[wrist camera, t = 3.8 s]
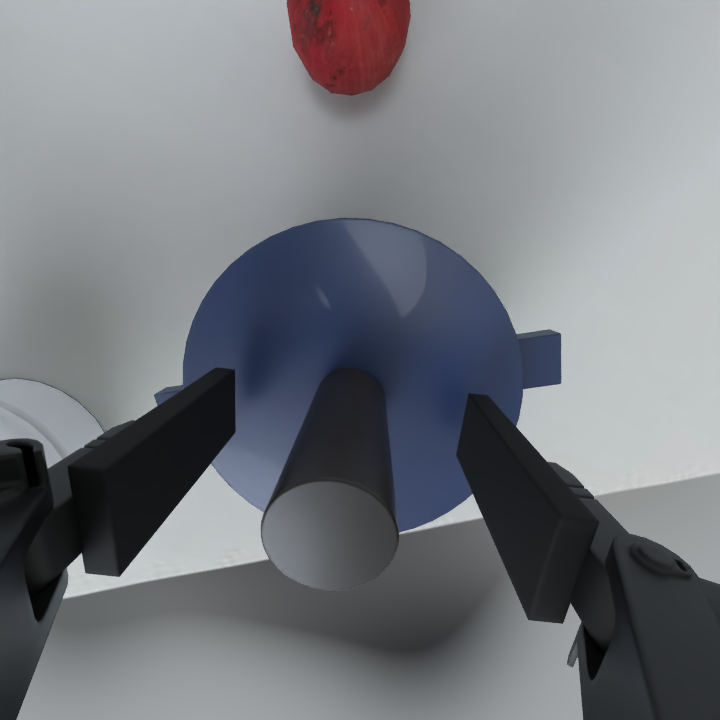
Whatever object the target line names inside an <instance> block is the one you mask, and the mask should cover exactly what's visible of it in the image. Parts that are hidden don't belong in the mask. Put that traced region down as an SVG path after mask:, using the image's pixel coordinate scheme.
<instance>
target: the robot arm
mask: <svg viewBox="0 0 720 720" xmlns="http://www.w3.org/2000/svg"><path fill="white" fill-rule="evenodd" d="M235 433H236V414H235V369H227V368H217V367H215V368H214V369H212V370H211V371H209V372H208V373H206V374H205V375H203V376H202V377H200V378H199V379H197V380H196V381H194V382H193V383H191V384H190V385H188V386H187V387H185V388H184V389H182V390H181V391H179V392H178V393H176V394H175V395H173V396H172V397H170V398H169V399H167V400H166V401H164V402H163V403H161V404H160V405H158V406H157V407H155V408H154V409H152V410H151V411H149V412H148V413H146V414H145V415H143V416H142V417H140V418H139V419H137V420H136V421H133V420H132V421H129V422H126V423H124V424H121V425H118V426H116V427H113V428H111V429H110V430H108V431H106V432H105V433H103V434H102V435H100V436H99V437H97V439H94V440H92V441H91V442H89V443H88V444H86V445H84V448H80V449H78V450H76V451H75V452H73V453H72V454H70V455H69V456H67V457H65V458H64V459H62V460H61V461H59V462H58V463H56V464H54V465H53V466H51V467H50V468H47V463H46V458H45V453H44V447H43V444H42V443H41V442H39V441H38V440H34V439H29V438H19V439H7V440H1V441H0V720H16V718H17V716H18V713H19V711H20V708H21V706H22V703H23V700H24V698H25V695H26V692H27V690H28V687H29V684H30V682H31V679H32V676H33V674H34V672H35V669H36V666H37V663H38V661H39V658H40V656H41V653H42V651H43V648H44V645H45V643H46V640H47V637H48V635H49V632H50V629H51V627H52V624H53V621H54V619H55V616H56V613H57V611H58V609H59V606H60V603H61V601H62V598H63V595H64V593H65V590H66V588H67V585H68V572H67V567H68V566H69V565H70V564H71V563H72V562H73V561H74V560H75V559H76V558H77V557H78V556H79V555H80V554H81V553H82V556H83V561H84V567H85V573H89V574H98V575H107V576H117V577H120V576H121V574H122V573H123V572H124V571H125V569H126V568H127V567H128V566H129V564H130V563H131V562H132V561H133V559H134V558H135V557H136V556H137V554H138V553H139V552H140V551H141V549H142V548H143V547H144V546H145V544H146V543H147V542H148V541H149V539H150V538H151V537H152V536H153V535H154V533H155V532H156V531H157V530H158V528H159V527H160V526H161V525H162V523H163V522H164V521H165V520H166V518H167V517H168V516H169V515H170V513H171V512H172V511H173V510H174V508H175V507H176V506H177V505H178V503H179V502H180V501H181V500H182V498H183V497H184V496H185V495H186V493H187V492H188V491H189V490H190V489H191V487H192V486H193V485H194V484H195V482H196V481H197V480H198V479H199V477H200V476H201V475H202V474H203V472H204V471H205V470H206V469H207V467H208V466H209V465H210V464H211V462H212V461H213V460H214V459H215V457H216V456H217V455H218V454H219V452H220V451H221V450H222V449H223V448H224V446H225V445H226V444H227V443H228V441H229V440H230V439H231V438H232V436H233V435H234V434H235ZM456 456H457V459H458V461H459V463H460V466H461V468H462V470H463V472H464V475H465V477H466V479H467V481H468V484H469V486H470V488H471V491H472V493H473V495H474V497H475V500H476V502H477V504H478V506H479V509H480V511H481V513H482V516H483V518H484V520H485V522H486V525H487V527H488V529H489V531H490V534H491V536H492V538H493V540H494V543H495V545H496V547H497V550H498V552H499V554H500V556H501V559H502V561H503V563H504V565H505V568H506V570H507V572H508V575H509V577H510V579H511V581H512V584H513V586H514V588H515V591H516V593H517V595H518V597H519V600H520V602H521V604H522V606H523V609H524V611H525V613H526V616H527V618H528V620H533V621H543V622H552V623H563V622H564V619H565V616H566V613H567V611H568V608H569V605H570V602H571V604H572V606H573V607H574V609H575V611H576V613H577V614H578V616H579V618H580V619H581V621H582V622H581V625H580V627H579V630H578V632H577V635H576V638H575V640H574V643H573V645H572V648H571V651H570V653H569V657H568V661H567V665H569V666H571V667H573V666H574V663H575V661H576V658H579V659H578V660H579V671H580V683H581V696H582V708H583V720H720V584H717V583H714V582H711V581H708V580H705V579H701V578H699V577H698V576H697V574H696V573H695V572H694V570H693V569H692V568H691V566H689V565H688V564H687V563H686V562H685V561H684V560H683V559H681V558H680V557H679V556H678V555H676V554H675V553H673V552H672V551H670V550H669V549H667V548H665V547H664V546H662V545H660V544H658V543H655V542H653V541H651V540H649V539H647V538H644V537H640V536H636V535H633V534H629V533H628V532H627V531H626V530H625V529H624V528H623V527H622V526H621V525H620V524H619V522H618V521H616V519H614V517H613V516H612V515H611V514H610V513H609V512H608V511H607V510H606V509H605V508H604V507H603V506H602V505H601V504H600V503H599V502H598V500H595V499H594V496H593V495H592V494H591V493H590V492H589V491H588V490H587V489H584V486H583V485H582V484H581V483H580V482H579V481H578V479H577V478H576V477H575V476H574V475H573V474H572V473H570V472H569V471H567V470H566V469H564V468H562V467H561V466H559V465H558V464H556V463H552V462H546V460H545V459H544V458H543V457H542V456H541V455H540V454H539V452H538V451H537V450H536V449H535V448H534V447H533V446H532V445H531V443H530V442H529V441H528V440H527V439H526V438H525V437H524V435H523V434H522V433H521V432H520V431H519V430H518V429H517V428H516V426H515V425H514V424H513V423H512V422H511V421H510V420H509V418H508V417H507V416H506V415H505V414H504V413H503V412H502V411H501V409H500V408H499V407H498V406H497V405H496V404H495V403H494V401H493V400H492V399H491V398H490V397H489V396H488V395H481V394H472V393H468V397H467V402H466V407H465V412H464V417H463V422H462V427H461V432H460V437H459V442H458V447H457V452H456Z"/></svg>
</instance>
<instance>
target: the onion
mask: <svg viewBox="0 0 720 720" xmlns="http://www.w3.org/2000/svg"><path fill="white" fill-rule="evenodd" d="M287 8H288V15H289V21H290V28H291V34H292V41H293V47H294V48H295V50H296V52H297V54H298V55H299V57H300V59H301V61H302V63H303V64H304V66H305V68H306V70H307V71H308V73H309V75H310V76H311V78H312V79H313V80H314V81H316V82H317V83H319V84H320V85H321V86H323V87H324V88H325V89H327V90H328V91H330V92H331V93H337V94H345V95H356V94H359V93H363V92H366V91H370V90H372V89H374V88H375V87H376V86H377V85H379V84H380V83H381V82H382V81H383V80H385V79H386V78H387V77H388V76H389V75H390V73H391V72H392V70H393V68H394V66H395V65H396V63H397V61H398V59H399V58H400V56H401V54H402V51H403V49H404V47H405V43H406V38H407V32H408V27H409V22H410V17H411V15H410V2H409V0H287Z"/></svg>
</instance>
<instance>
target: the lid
mask: <svg viewBox="0 0 720 720" xmlns="http://www.w3.org/2000/svg"><path fill="white" fill-rule="evenodd" d="M215 367H217V368H227V369H235V414H236V433H235V434H234V435H233V436H232V438H231V439H230V440H229V441H228V443H227V444H226V445H225V446H224V448H223V449H222V450H221V451H220V452H219V454H218V455H217V456H216V457H215V459H214V460H213V461H212V462H211V464H212V465H213V466H214V468H215V469H216V471H217V472H218V473H219V475H220V476H221V477H222V478H223V479H224V480H225V481H226V482H227V483H228V484H229V485H230V486H231V487H232V488H233V489H234V490H235V491H236V492H237V493H238V494H239V495H241V496H242V497H243V498H244V499H245V500H247V501H248V502H249V503H251V504H252V505H254V506H255V507H257V508H258V509H260V510H261V511H263V512H264V514H263V518H262V521H261V538H262V543H263V546H264V549H265V551H266V553H267V555H268V557H269V559H270V560H271V561H272V563H273V564H274V565H275V566H276V567H277V568H278V569H279V570H280V571H281V572H282V573H283V574H285V575H286V576H287V577H289V578H290V579H292V580H294V581H296V582H298V583H300V584H302V585H305V586H307V587H311V588H315V589H320V590H329V591H338V590H347V589H352V588H356V587H359V586H361V585H364V584H366V583H368V582H370V581H372V580H374V579H375V578H377V577H378V576H379V575H380V574H381V573H383V572H384V571H385V570H386V568H387V567H388V566H389V565H390V563H391V561H392V560H393V558H394V556H395V553H396V551H397V547H398V542H399V532H402V531H406V530H409V529H413V528H416V527H418V526H421V525H423V524H426V523H428V522H431V521H433V520H435V519H437V518H438V517H440V516H442V515H444V514H446V513H448V512H449V511H451V510H452V509H454V508H455V507H456V506H458V505H459V504H461V503H462V502H463V501H465V500H466V499H467V498H468V497H469V496H470V495H472V494H473V493H472V491H471V488H470V486H469V484H468V481H467V479H466V477H465V475H464V472H463V470H462V468H461V466H460V463H459V461H458V459H457V456H456V452H457V447H458V442H459V437H460V432H461V427H462V422H463V417H464V412H465V407H466V402H467V397H468V393H472V394H481V395H488V396H489V397H490V398H491V399H492V400H493V401H494V403H495V404H496V405H497V406H498V407H499V408H500V409H501V411H502V412H503V413H504V414H505V415H506V416H507V417H508V418H509V420H510V421H511V422H512V423H513V424H514V425H515V426H516V425H517V422H518V419H519V414H520V409H521V403H522V397H523V368H522V359H521V352H520V348H519V344H518V340H517V336H516V333H515V330H514V328H513V325H512V323H511V321H510V318H509V316H508V313H507V311H506V309H505V308H504V306H503V304H502V303H501V301H500V299H499V298H498V296H497V294H496V293H495V291H494V290H493V289H492V287H491V286H490V285H489V284H488V283H487V281H486V280H485V279H484V278H483V277H482V275H481V274H480V273H479V272H478V271H477V270H476V269H475V268H474V267H473V266H471V265H470V264H469V263H468V262H467V261H466V260H465V259H464V258H463V257H462V256H460V255H459V254H457V253H456V252H454V251H453V250H451V249H450V248H448V247H447V246H445V245H444V244H443V243H441V242H439V241H437V240H435V239H433V238H431V237H429V236H427V235H425V234H423V233H421V232H419V231H416V230H413V229H410V228H407V227H404V226H401V225H398V224H394V223H390V222H384V221H378V220H372V219H359V218H338V219H329V220H320V221H314V222H311V223H307V224H303V225H299V226H295V227H292V228H289V229H287V230H285V231H282V232H280V233H278V234H275V235H273V236H270V237H269V238H267V239H265V240H264V241H262V242H260V243H259V244H257V245H255V246H254V247H252V248H250V249H249V250H248V251H246V252H245V253H244V254H243V255H241V256H240V257H239V258H238V259H237V260H235V261H234V262H233V263H232V264H231V265H230V266H229V267H228V268H227V269H226V270H225V271H224V272H223V273H222V274H221V276H220V277H219V278H218V279H217V280H216V281H215V282H214V284H213V285H212V287H211V288H210V290H209V291H208V293H207V294H206V296H205V297H204V299H203V300H202V302H201V305H200V307H199V309H198V311H197V313H196V315H195V317H194V319H193V322H192V325H191V328H190V332H189V335H188V338H187V341H186V348H185V354H184V361H183V388H185V387H187V386H188V385H190V384H191V383H193V382H194V381H196V380H197V379H199V378H200V377H202V376H203V375H205V374H206V373H208V372H209V371H211V370H212V369H214V368H215Z"/></svg>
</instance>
